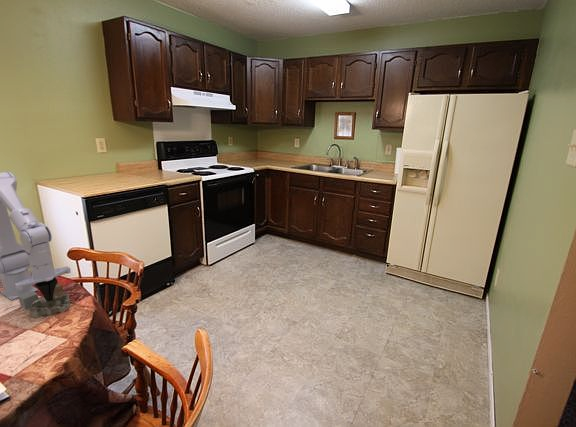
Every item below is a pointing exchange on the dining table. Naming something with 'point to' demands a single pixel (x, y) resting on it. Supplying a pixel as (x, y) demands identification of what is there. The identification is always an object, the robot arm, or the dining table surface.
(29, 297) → the slate-grey block
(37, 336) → the dining table surface
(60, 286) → the walnut block
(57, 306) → the grey piece
